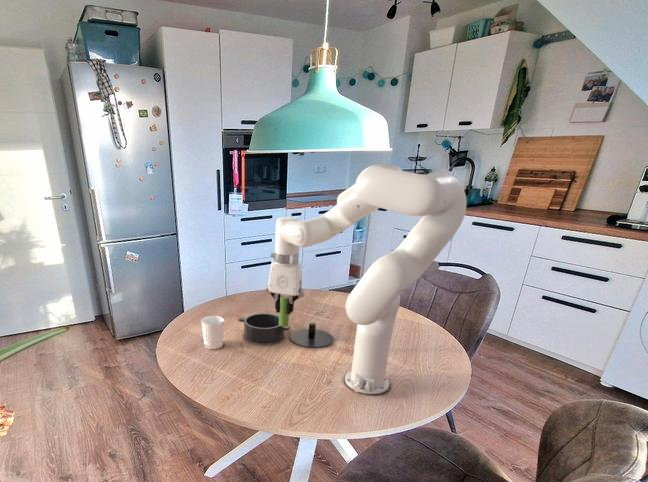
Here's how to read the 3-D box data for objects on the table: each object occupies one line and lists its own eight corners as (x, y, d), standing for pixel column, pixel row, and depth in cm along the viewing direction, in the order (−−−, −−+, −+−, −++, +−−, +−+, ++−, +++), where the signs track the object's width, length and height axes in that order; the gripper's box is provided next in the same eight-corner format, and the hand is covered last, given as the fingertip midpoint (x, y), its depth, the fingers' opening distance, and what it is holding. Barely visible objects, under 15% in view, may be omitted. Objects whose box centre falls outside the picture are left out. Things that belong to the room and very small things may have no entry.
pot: (281, 349, 136) (281, 333, 133) (231, 338, 144) (230, 322, 142) (295, 334, 148) (296, 318, 145) (248, 324, 156) (248, 309, 154)
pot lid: (326, 353, 133) (327, 336, 130) (283, 344, 140) (284, 327, 137) (337, 336, 146) (339, 319, 143) (298, 328, 152) (299, 312, 150)
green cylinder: (286, 327, 129) (287, 299, 125) (277, 325, 130) (278, 297, 126) (289, 323, 131) (291, 296, 127) (280, 322, 133) (282, 294, 129)
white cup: (219, 351, 135) (218, 325, 131) (199, 348, 137) (197, 322, 133) (227, 342, 142) (227, 317, 138) (207, 339, 144) (206, 314, 140)
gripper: (257, 257, 122) (257, 312, 129) (307, 264, 115) (303, 320, 122) (267, 252, 128) (266, 304, 136) (315, 258, 121) (311, 312, 129)
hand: (284, 311), depth 129 cm, fingers closed on green cylinder, 3 cm apart
